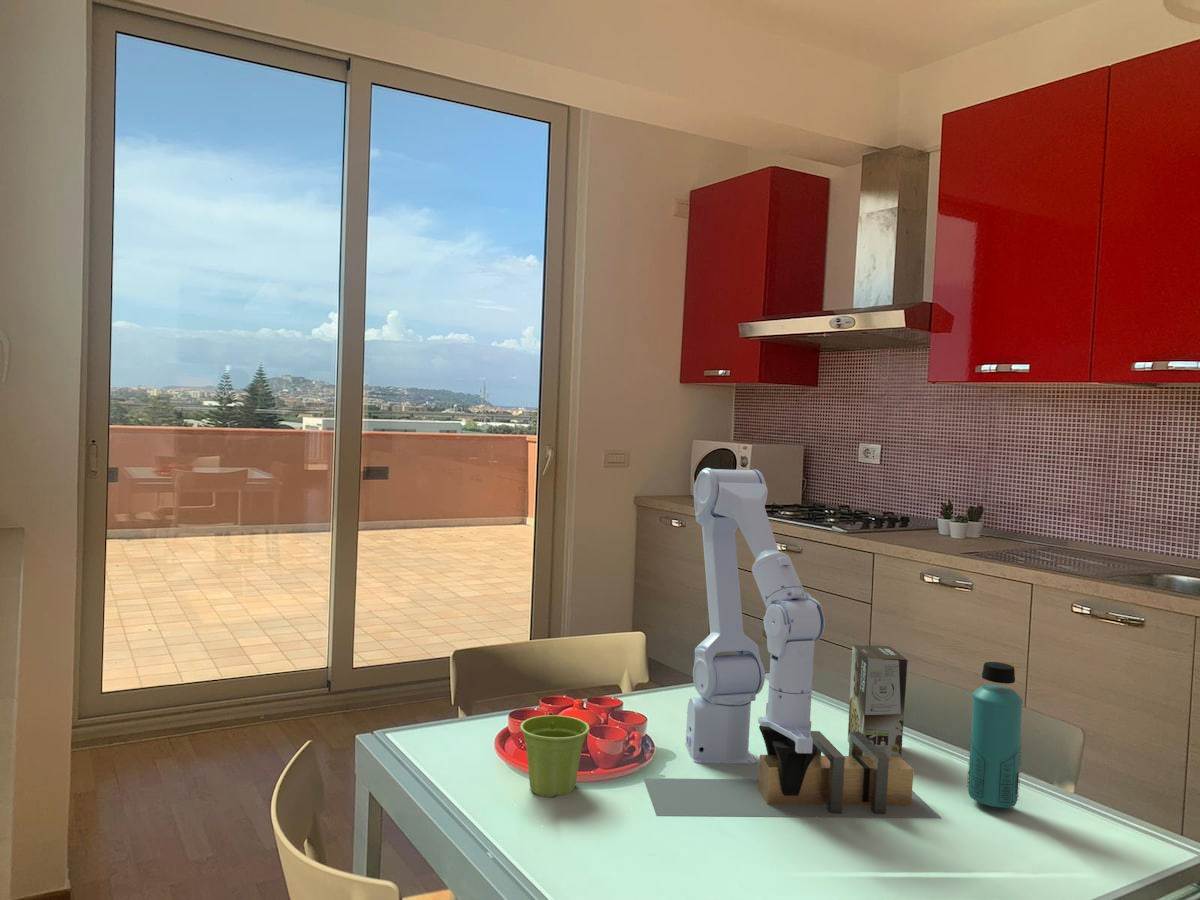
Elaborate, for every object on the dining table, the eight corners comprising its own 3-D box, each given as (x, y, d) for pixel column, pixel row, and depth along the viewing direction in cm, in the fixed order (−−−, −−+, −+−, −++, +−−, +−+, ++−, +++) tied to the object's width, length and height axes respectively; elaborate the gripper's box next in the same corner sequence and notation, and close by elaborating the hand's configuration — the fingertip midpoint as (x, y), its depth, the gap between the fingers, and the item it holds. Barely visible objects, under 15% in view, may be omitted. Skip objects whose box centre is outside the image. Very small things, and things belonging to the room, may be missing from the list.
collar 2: (874, 814, 117) (878, 757, 117) (846, 783, 127) (850, 731, 127) (885, 814, 118) (889, 757, 117) (857, 783, 127) (860, 731, 127)
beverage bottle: (1023, 822, 118) (1032, 672, 118) (970, 815, 120) (979, 667, 119) (1010, 802, 125) (1019, 660, 124) (960, 796, 126) (969, 655, 125)
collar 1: (830, 813, 117) (833, 757, 117) (806, 783, 127) (809, 730, 127) (841, 813, 117) (844, 757, 117) (816, 783, 127) (819, 731, 127)
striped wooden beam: (767, 804, 119) (769, 766, 119) (757, 790, 123) (759, 754, 123) (911, 805, 121) (913, 768, 121) (897, 791, 125) (899, 756, 125)
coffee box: (902, 763, 138) (909, 659, 137) (861, 761, 138) (867, 657, 137) (885, 742, 147) (891, 645, 146) (845, 740, 147) (851, 643, 146)
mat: (656, 818, 114) (656, 815, 114) (643, 780, 126) (643, 778, 126) (941, 821, 117) (942, 818, 117) (902, 784, 129) (902, 781, 129)
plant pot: (503, 792, 119) (506, 728, 119) (540, 770, 128) (543, 710, 127) (564, 809, 115) (567, 743, 115) (598, 785, 123) (601, 723, 123)
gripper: (747, 672, 128) (742, 765, 128) (776, 703, 113) (771, 809, 114) (795, 673, 128) (790, 766, 129) (830, 705, 114) (824, 809, 114)
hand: (784, 786), depth 121 cm, fingers closed on striped wooden beam, 4 cm apart
